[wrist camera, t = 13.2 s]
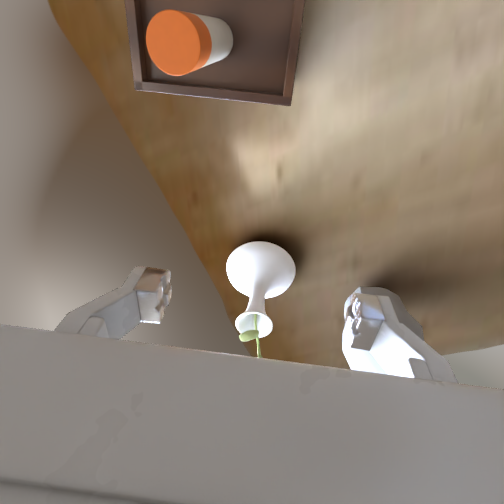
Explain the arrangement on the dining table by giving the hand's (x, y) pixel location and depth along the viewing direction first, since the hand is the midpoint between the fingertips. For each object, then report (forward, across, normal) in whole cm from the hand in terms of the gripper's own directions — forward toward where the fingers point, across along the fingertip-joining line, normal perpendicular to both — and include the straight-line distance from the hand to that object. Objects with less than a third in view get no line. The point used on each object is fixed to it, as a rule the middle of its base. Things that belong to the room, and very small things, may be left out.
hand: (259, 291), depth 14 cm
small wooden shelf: (+33, +6, -9) cm, 35 cm away
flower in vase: (+33, 0, +24) cm, 41 cm away
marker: (+21, +6, -9) cm, 24 cm away
